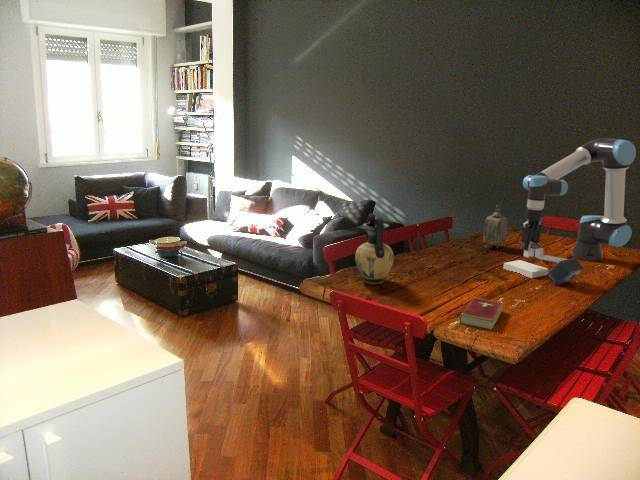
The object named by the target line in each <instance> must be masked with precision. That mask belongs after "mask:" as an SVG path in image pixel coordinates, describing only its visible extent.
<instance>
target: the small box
mask: <svg viewBox="0 0 640 480" xmlns="http://www.w3.org/2000/svg"><path fill="white" fill-rule="evenodd" d="M583 270H584V268H583V266H582V264H581V263H580V262H579V261H578V258H572V259H571V258H570V259H569V260H563V261H560V262H559V263H558V262H557V264H556V265H555V266H554V267H553V268H552V269H551V270H550V271H548V274H547V275H546V276H547V277H548V278H549V280H550V281H551V282H552V284H553V285H554V286H556V285H561V284H568V283H571V282H572V281H573V280H574V279H575V278H576V277H577V276H578V275H579V274H580V273H581V272H582V271H583Z"/></svg>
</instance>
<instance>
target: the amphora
mask: <svg viewBox="0 0 640 480" xmlns="http://www.w3.org/2000/svg"><path fill="white" fill-rule="evenodd" d="M366 221H367V222H365V223H363V224H362V226H363V228H365V231H366V239H365V241H366V242H363V243H362V244H360V245H359V246H358V247H357V249H356V251H355V255H354V256H355V258H354V260H355V265H356V267H357V270H358V271H359V273H360V275H361V276H362V277H363V279H362V281H363V282H365V283H366V284H370V285H371V284H372V285H376V284H377V285H378V284H382V283H384V281H385V280H384V279H385V277H386V276H387V275H388V273H389V272H390V271H391V269H392V267H393V263H394V251H393V249H392V248H391V247H390V246H389V245H388V244H386V243H384V242H383V240H384V234H385V232H386V229H389V227H390V225H389V224H388V223H384V222H385V221H384V219H383V218H382V217H376V215H375V214H374V213H369V214H368V216H367V219H366Z"/></svg>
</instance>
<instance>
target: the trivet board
mask: <svg viewBox="0 0 640 480" xmlns="http://www.w3.org/2000/svg"><path fill="white" fill-rule="evenodd" d="M502 269H503V270H505V269H506V271H508V270H509V272H511V271H513V272H512V273H514V272H517V273H520V274H522V276H523V275H524V277H527V278H530V279H534V278H539V277H543V276H548V275H547V274H548V273H549V268H548V267H544V266H540V265H537V264H534V263H531V262H527V261H525V260H521V259H518V260H512V261H507V262H504V263H503V268H502ZM517 273H516V274H517ZM520 274H519V275H520Z"/></svg>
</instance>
